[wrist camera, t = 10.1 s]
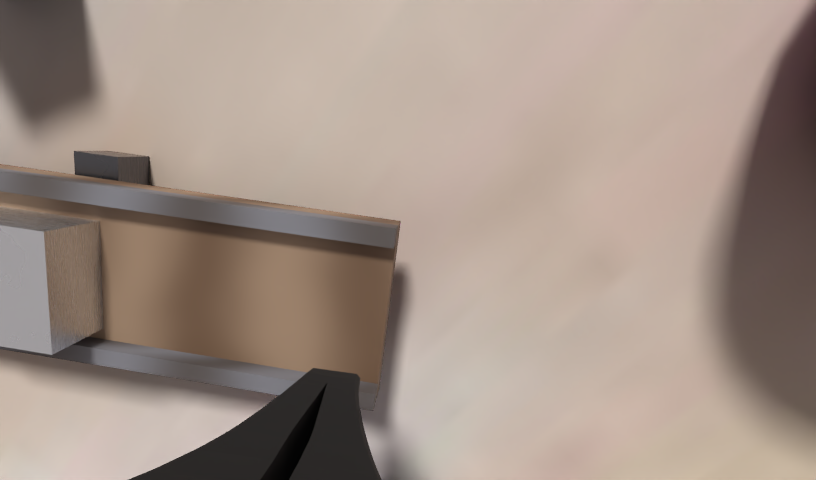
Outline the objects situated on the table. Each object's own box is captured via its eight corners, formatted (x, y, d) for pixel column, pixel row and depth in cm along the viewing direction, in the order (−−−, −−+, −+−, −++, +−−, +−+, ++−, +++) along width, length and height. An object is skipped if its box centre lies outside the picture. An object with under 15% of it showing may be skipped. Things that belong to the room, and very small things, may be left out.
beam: (400, 221, 17) (396, 228, 16) (378, 391, 19) (372, 415, 17) (-197, 136, 19) (-264, 134, 17) (-167, 301, 20) (-223, 315, 19)
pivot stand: (148, 156, 20) (117, 157, 18) (150, 339, 22) (122, 358, 20) (109, 151, 20) (74, 151, 18) (114, 334, 22) (83, 353, 20)
